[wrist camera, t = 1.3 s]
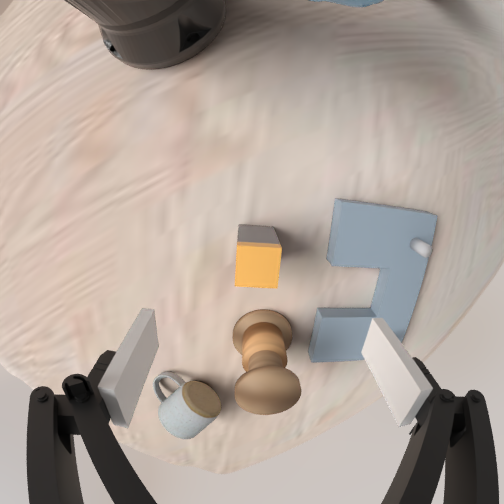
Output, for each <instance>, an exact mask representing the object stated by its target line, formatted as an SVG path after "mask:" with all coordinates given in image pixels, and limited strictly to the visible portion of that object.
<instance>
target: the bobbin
mask: <svg viewBox="0 0 504 504" xmlns="http://www.w3.org/2000/svg"><path fill="white" fill-rule="evenodd" d="M291 341H292V330H291V327H290V324H289V322H288V320H287V319H286V318H285V317H284V316H283V315H281V314H279V313H277V312H275V311H271V310H255V311H252V312H249V313H247V314H245V315H244V316H242V317H241V318H240V319H239V320H238V321H237V323H236V324H235V326H234V329H233V344H234V346H235V348H236V349H237V351H238V352H239V353H240V354H241V355H242V365H243V368H244V370H245V371H246V373H244V374H243V375H242V376H240V378H239V379H238V380H237V382H236V384H235V400H236V402H237V404H238V405H239V406H240V407H241V408H242V409H244V410H246V411H248V412H250V413H254V414H260V415H270V414H276V413H280V412H283V411H285V410H287V409H289V408H291V407H292V406H293V405H295V404H296V403H297V401H298V400H299V398H300V396H301V386H300V382H299V379H298V377H297V376H296V375H295V374H294V373H293V372H292V371H290V370H288V369H286V368H285V367H286V365H287V355H286V350H287V349H288V348H289V346H290V344H291Z"/></svg>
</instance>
